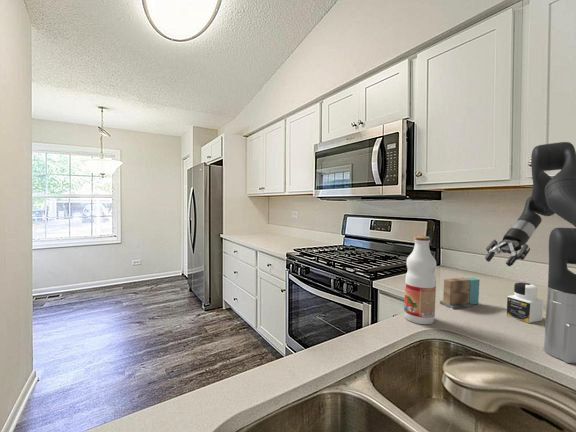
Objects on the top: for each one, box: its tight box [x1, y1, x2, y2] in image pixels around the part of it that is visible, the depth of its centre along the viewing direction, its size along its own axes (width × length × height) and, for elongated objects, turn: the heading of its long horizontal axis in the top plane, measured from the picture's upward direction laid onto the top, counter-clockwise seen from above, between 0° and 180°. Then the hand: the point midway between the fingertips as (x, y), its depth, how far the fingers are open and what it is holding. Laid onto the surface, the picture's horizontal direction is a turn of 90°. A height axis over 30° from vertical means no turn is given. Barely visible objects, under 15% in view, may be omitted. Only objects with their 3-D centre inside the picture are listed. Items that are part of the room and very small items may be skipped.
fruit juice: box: [403, 235, 437, 325], centre depth 96 cm, size 9×9×28 cm
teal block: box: [465, 277, 481, 305], centre depth 113 cm, size 4×3×10 cm, turn 107°
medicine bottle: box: [506, 282, 544, 324], centre depth 99 cm, size 7×7×12 cm
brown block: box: [439, 277, 473, 310], centre depth 111 cm, size 10×6×10 cm, turn 107°
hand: (497, 262), depth 116 cm, fingers open, 8 cm apart
